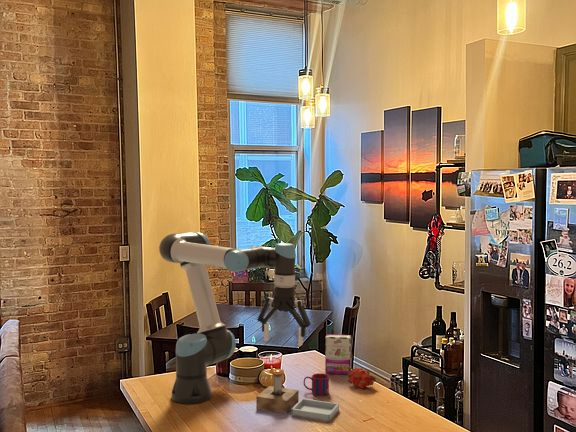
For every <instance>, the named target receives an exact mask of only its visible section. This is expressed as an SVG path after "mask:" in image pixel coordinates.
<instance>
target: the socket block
mask: <svg viewBox="0 0 576 432" xmlns="http://www.w3.org/2000/svg"><path fill="white" fill-rule="evenodd" d="M299 392H300V391H299V390H298V389H292V388H287V387H282V396H277V395H274V385H269V386H268V387H266V388H265V389H264V390H263V391H261V392H260V393H259V394H258V395H256V402H255V403H256V405H255V406H256V409H257V410H265V411H270V412H271V411H272V412H277V413H282V414H288V413H289V412H290V411H291V409H292V408H293V407H294V406H295V405H296V404H297V403H298V402H299V401H300V400H299Z"/></svg>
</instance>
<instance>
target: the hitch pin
mask: <svg viewBox="0 0 576 432" xmlns="http://www.w3.org/2000/svg"><path fill="white" fill-rule="evenodd" d="M271 374H272V375H273V387H274V395H277V396H282V388H283V375H284V374H285V370H284V369H282V368H273V369H272V371H271Z"/></svg>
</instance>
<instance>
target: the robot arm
mask: <svg viewBox="0 0 576 432" xmlns="http://www.w3.org/2000/svg"><path fill="white" fill-rule="evenodd" d="M158 249H159V250H158V251H159V254H160V256H161V258H162V259H163V260H165V261H166V262H168V263H176V264H180V269H182V270H184V271H185V273H186V276H187V277H186V278H187V281H188V286H189V289H190V293H191V297H192V301H193V305H194V309H195V313H196V318H197V322H198V325H199V329H198V331H197V332H196V333H192V334H191V333H189V334H185V335H183V336H181V337H179V338H178V339H177V341H176V344H175V380H174V382H173V386H172V390H171V400H172V401H173V402H175V403H179V404H187V405H188V404H189V405H191V404H200V403H204V402H206V401H208V400H210V399H211V398H212V389H211V386H210V382H209V380H208V376H207V373H208V372H207V368H208V367H207V366H210V365H213V364H217V363H220V362H223V361H225V360H226V359H229V358H230V357H232V355H233V354H234V352H235V350H236V345H237V344H236V341H237V340H236V338H235V335H234V334H233V332H231V330H229V329H227V326H226V324H224V323H223V322H221V319H220V315H219V311H218V306H217V303H216V299H215V295H214V291H213V287H212V283H211V280H210V276H209V272H208V271H209V270H208V268H207V266H208V267H209V266H211V267H217V268H224V269H227V270H228V271H229V272H231V273H235V272H236V273H241V272H244V271H248V270H249V271H250V270H254V269H260V268H268V269H269V268H270V269H274V283H273V284H274V287H273V297H271V296H268V297H266V298H265V301H264V305H263V307H262V309H261V311H260V313H259V315H258V317H257V319H256V320H257V322H260V323H261V332H262V333H263V342H267V341H269V339H270V337H269V335H270V322H268V321H269V320H270V319H271V318H272V316H274V314H275V313H276V312H277V311H279V312H284V313H285V312H286V313H287V312H288V313H290V314H291V315H292V317H293V319H294V320H295V321H296V323H297V324H298V325H299V327H298V341H297V342H298V343H297V344H298V345H297V346H298V347H301V346H303V344H304V338H305V337H306V330H307V329H306V328H308V327H310V326H311V325H312V324H311V321H310V319H309V316H308V314H307V312H306V310H305V306H304V301H303V300H302V299H299V300H296V299H295V294H296V293H295V292H296V290H295V289H296V288H295V285H296V259H297V255H296V246H295V244H293V243H288V242H287V243H285V242H281V243H276V244H275V246H274V247H267V246H261V245H253V246H251V247H250V248H245V249H244V248H243V249H241V248H233V247H226V246H218V245H211V242H210V240H209V238H208V236H206V235H205V234H204V233H202V232H199V231H190V232H177V233H170V234H168V235H165V236H164V237H163V238H162V240H161V241H160V243H159V246H158ZM272 303H273V304H274V306H273V307H272V308H271V310H270V311H269V313H267V311H268V310H269V308H270V306H271V304H272ZM295 305H296V307H297V309H298V311H297V310H296V308H295ZM298 312H299V313H298ZM266 314H267V315H266ZM299 314H300V315H299Z"/></svg>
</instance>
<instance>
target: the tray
mask: <svg viewBox="0 0 576 432" xmlns="http://www.w3.org/2000/svg"><path fill="white" fill-rule="evenodd" d="M290 411H291V414H290V415H291V417H297V418H302V419H309V420H315V421H321V422H328V423H331V421H332V420H333V418H335V416H336V415H337V414H338V412H339V411H340V404H339V403H336V402H331V401H330V402H329V401H323V400H315V399H310V398H301V399H300V400H299V402H298V403H297V404H296V405H295V406H294V407H293V408H292V409H291V410H290Z"/></svg>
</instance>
